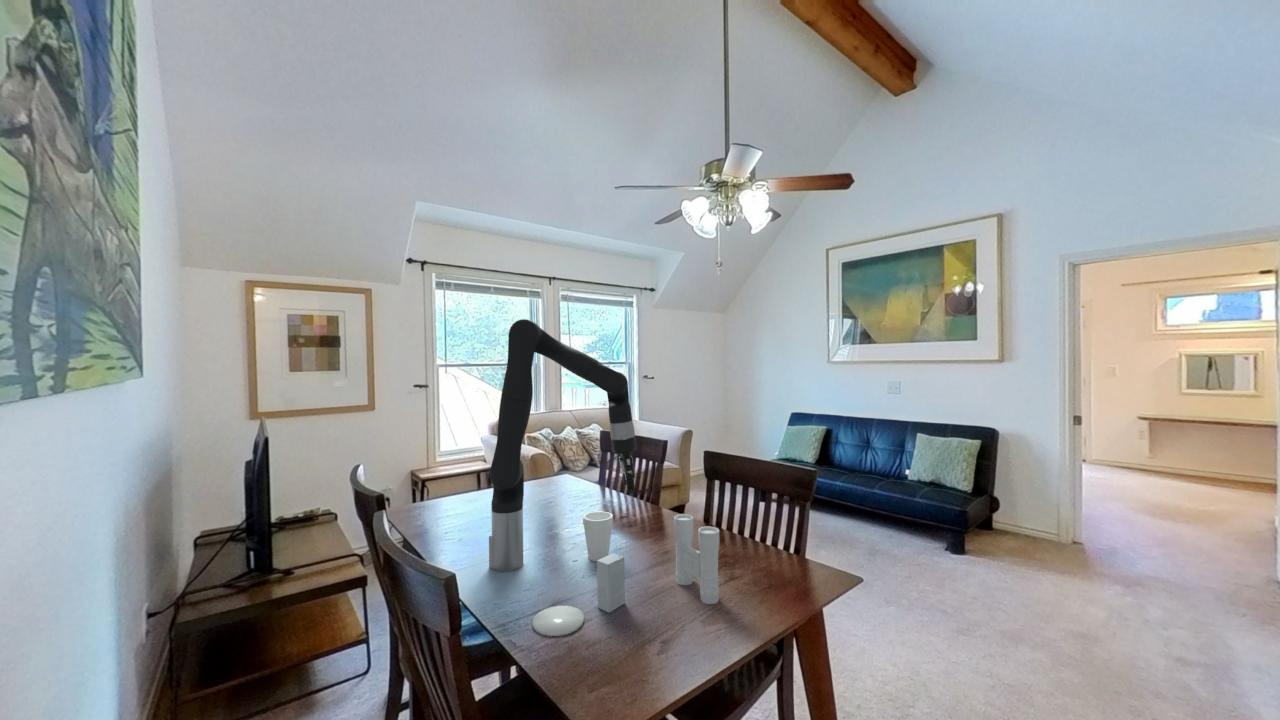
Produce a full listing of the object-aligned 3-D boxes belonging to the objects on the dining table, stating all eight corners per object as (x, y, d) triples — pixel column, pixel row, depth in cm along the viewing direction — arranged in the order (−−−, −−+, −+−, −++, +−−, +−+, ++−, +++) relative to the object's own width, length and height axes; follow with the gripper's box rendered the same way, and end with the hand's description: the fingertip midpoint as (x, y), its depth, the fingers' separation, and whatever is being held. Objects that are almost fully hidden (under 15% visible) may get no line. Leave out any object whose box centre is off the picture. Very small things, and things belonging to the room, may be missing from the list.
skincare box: (613, 598, 124) (612, 552, 124) (625, 603, 121) (624, 556, 121) (596, 608, 119) (596, 560, 119) (609, 613, 116) (608, 564, 116)
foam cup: (599, 565, 144) (598, 522, 144) (577, 558, 149) (576, 517, 149) (619, 555, 151) (618, 514, 151) (597, 548, 157) (597, 509, 157)
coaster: (523, 632, 108) (523, 629, 108) (546, 606, 120) (546, 603, 120) (572, 639, 105) (572, 635, 105) (590, 611, 117) (590, 608, 117)
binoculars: (671, 579, 134) (670, 515, 134) (687, 575, 137) (686, 512, 137) (707, 606, 119) (706, 535, 119) (724, 601, 122) (723, 531, 122)
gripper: (608, 434, 153) (615, 484, 154) (613, 441, 139) (620, 496, 140) (631, 431, 155) (637, 480, 155) (638, 437, 141) (645, 491, 141)
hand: (629, 487), depth 147 cm, fingers open, 8 cm apart
